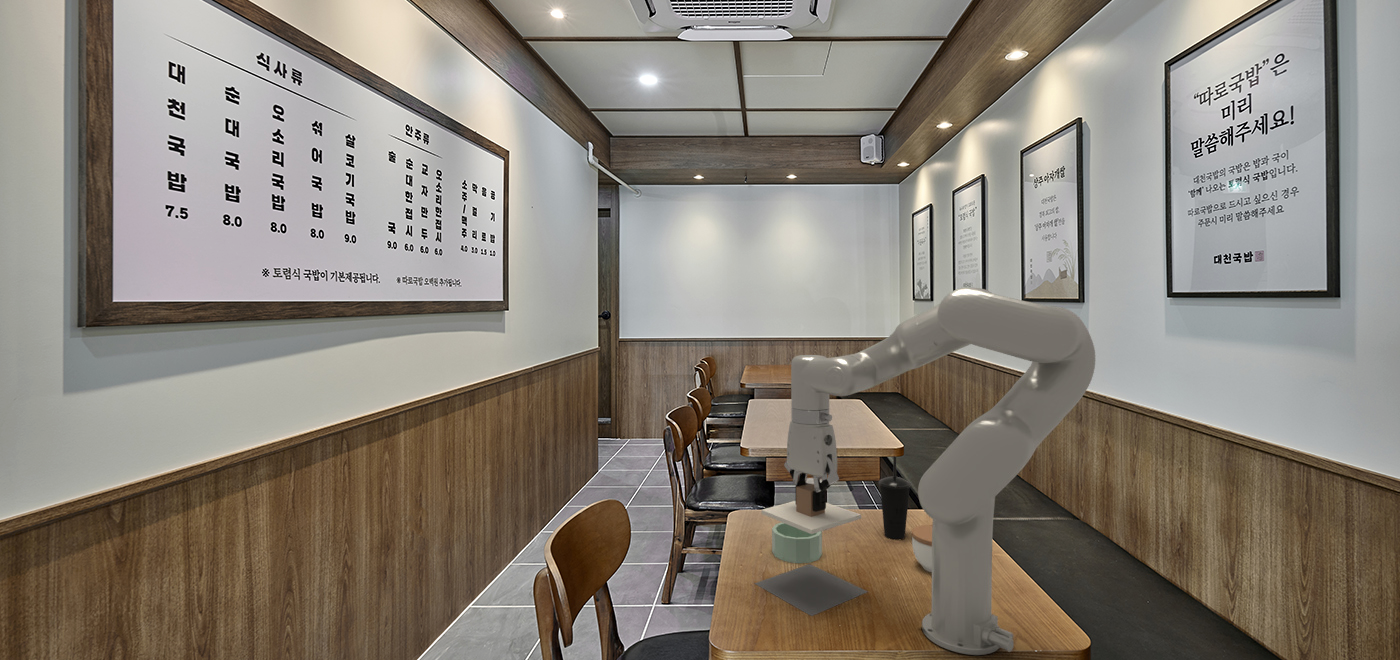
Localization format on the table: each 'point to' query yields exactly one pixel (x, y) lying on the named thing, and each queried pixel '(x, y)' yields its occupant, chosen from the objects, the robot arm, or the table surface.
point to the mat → (811, 589)
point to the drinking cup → (894, 504)
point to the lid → (809, 513)
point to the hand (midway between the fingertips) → (810, 506)
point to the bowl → (795, 544)
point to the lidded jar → (923, 545)
